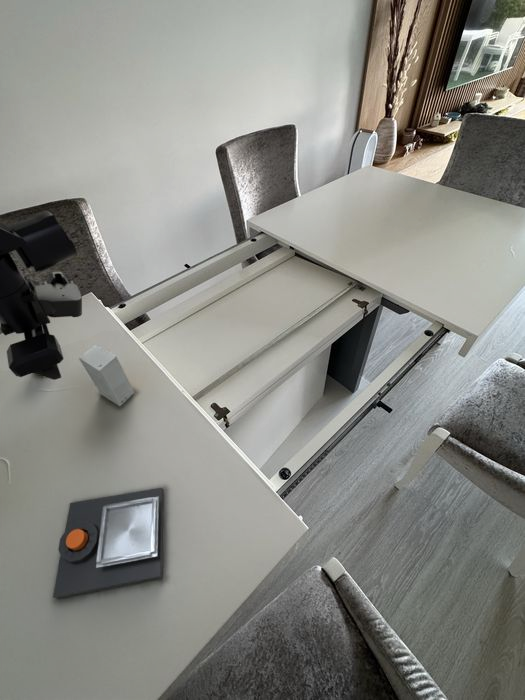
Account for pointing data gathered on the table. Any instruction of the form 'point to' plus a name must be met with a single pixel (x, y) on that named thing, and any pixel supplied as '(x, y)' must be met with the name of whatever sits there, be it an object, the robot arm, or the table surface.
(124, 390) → the cosmetic box
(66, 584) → the scale
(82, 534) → the button
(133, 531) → the brushed steel platform
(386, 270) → the table surface
